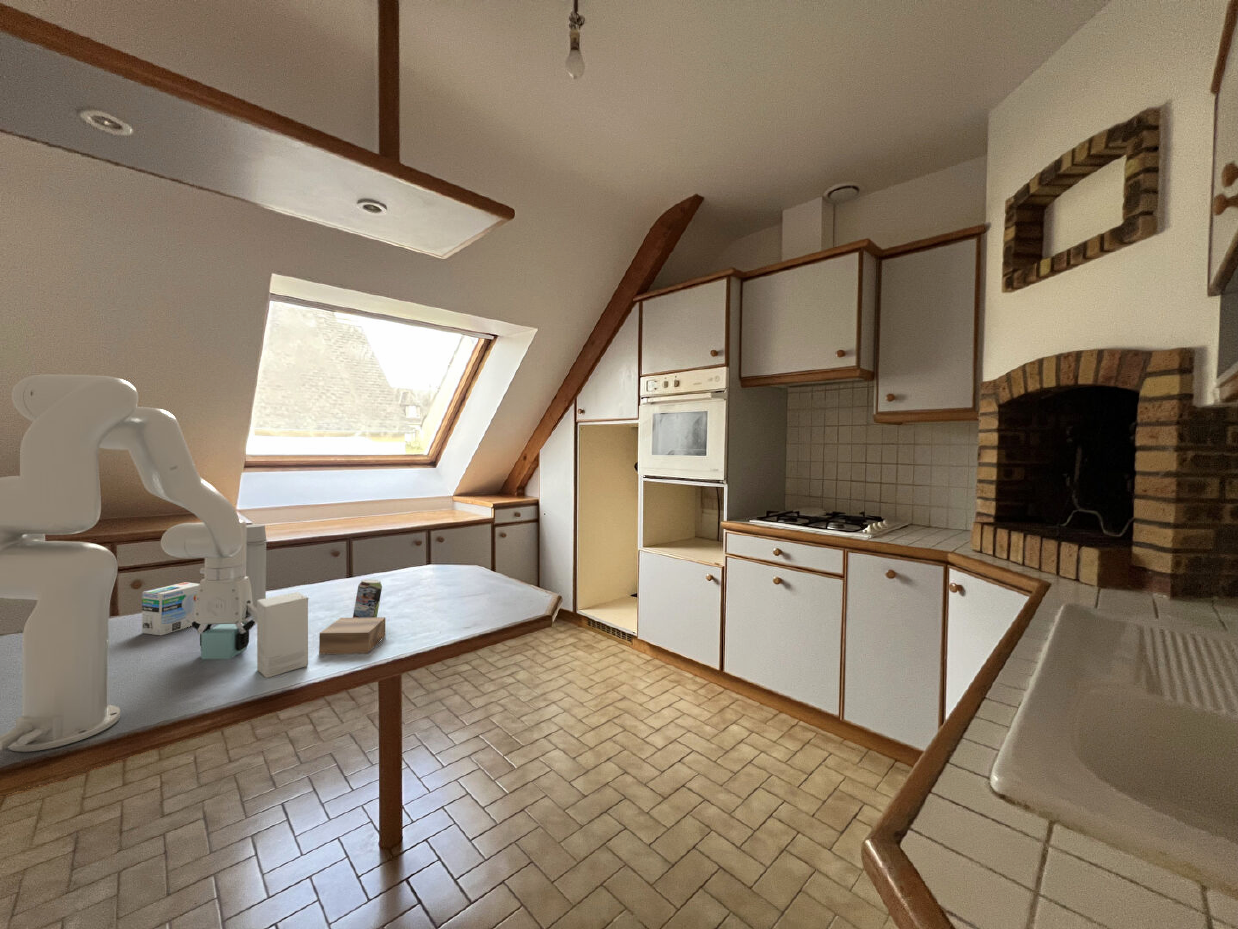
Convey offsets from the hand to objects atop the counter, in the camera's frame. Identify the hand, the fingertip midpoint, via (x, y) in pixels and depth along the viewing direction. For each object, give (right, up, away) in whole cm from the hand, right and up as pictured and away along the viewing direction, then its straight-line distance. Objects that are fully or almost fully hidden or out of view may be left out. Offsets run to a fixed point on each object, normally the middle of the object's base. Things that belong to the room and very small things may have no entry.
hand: (224, 648), depth 114 cm
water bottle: (-17, -1, +30) cm, 35 cm away
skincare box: (+18, -2, -7) cm, 20 cm away
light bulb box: (-26, -1, +15) cm, 30 cm away
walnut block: (+26, -2, +7) cm, 27 cm away
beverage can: (+22, -2, +23) cm, 31 cm away
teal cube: (0, -1, 0) cm, 1 cm away
